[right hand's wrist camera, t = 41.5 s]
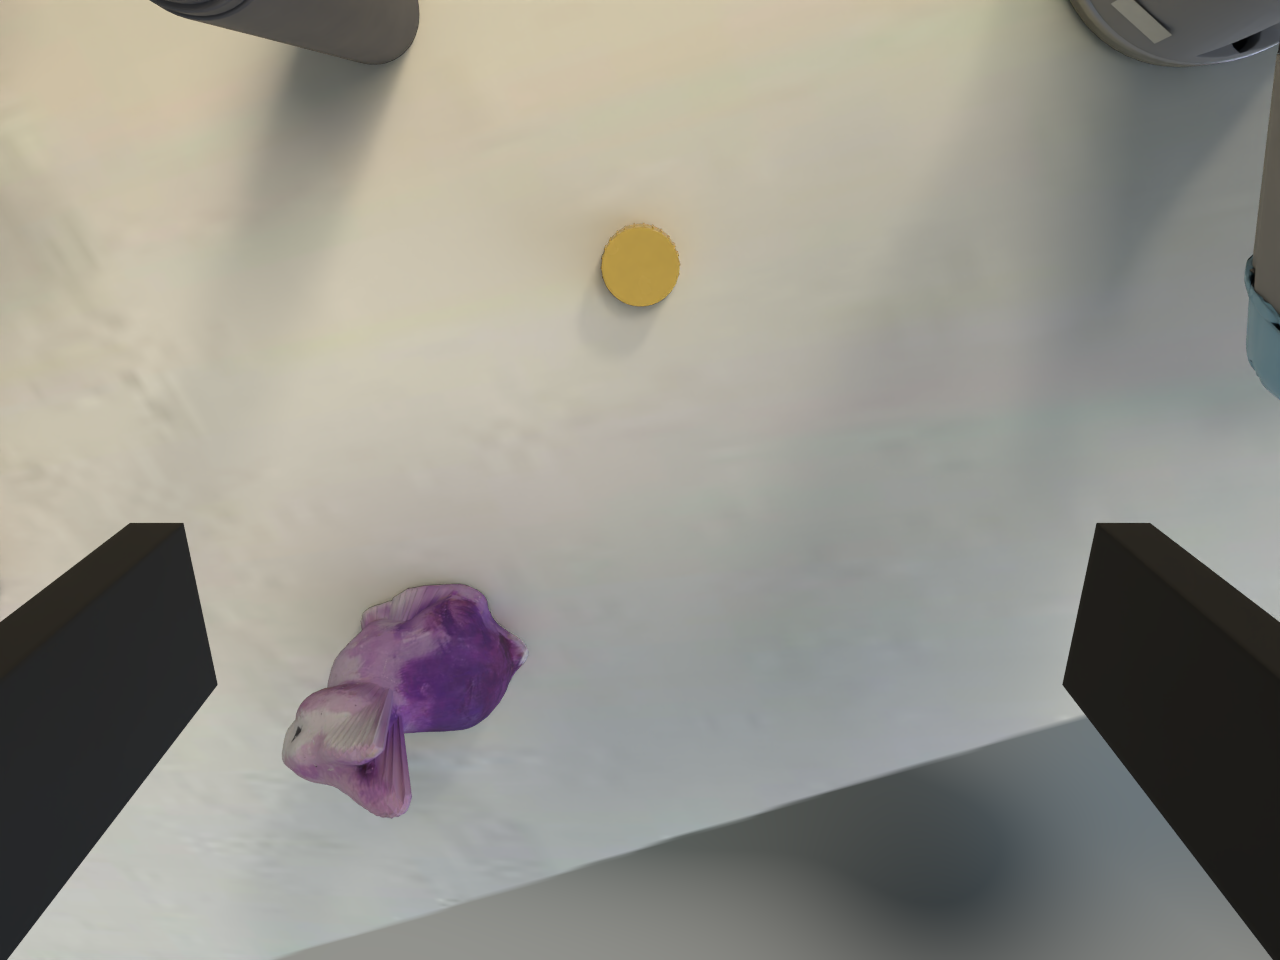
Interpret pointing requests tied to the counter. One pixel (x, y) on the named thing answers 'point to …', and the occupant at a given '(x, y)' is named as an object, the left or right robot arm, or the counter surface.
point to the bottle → (315, 23)
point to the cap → (640, 265)
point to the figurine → (402, 692)
